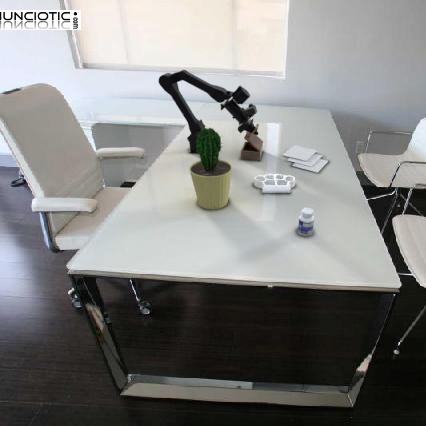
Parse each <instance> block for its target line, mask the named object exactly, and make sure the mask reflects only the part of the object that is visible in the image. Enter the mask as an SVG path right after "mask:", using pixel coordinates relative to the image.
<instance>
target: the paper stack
mask: <svg viewBox="0 0 426 426" xmlns="http://www.w3.org/2000/svg"><path fill="white" fill-rule="evenodd" d="M317 152H318V150H316V149H311V148H307V147H303V146H300V145H293V146H292V147H290V148H289V149H288V150H286V151H285V152H284V153H282V156H285V157H288V158H287V159H286V161H288V162H292V163H293V164H292V165H291V166H292V167H295V168H299V169H303V170H306V171H309V172H310V171H311V172H313V173H319V172H320V171H321V170H322V169H323V168H324V166H325V165H327V164H328V163H329V160H327V159H322V157H323V155H322V154H317Z"/></svg>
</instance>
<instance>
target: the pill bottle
mask: <svg viewBox="0 0 426 426" xmlns="http://www.w3.org/2000/svg"><path fill="white" fill-rule="evenodd" d="M314 223H315V216H314V210H313V208H311V207H303V208H302V209H301V214H299V217H298V225H297V232H298V234H300V235H301V236H303V237H308V236H311V235H312V234H313V231H314Z"/></svg>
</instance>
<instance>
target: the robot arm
mask: <svg viewBox="0 0 426 426" xmlns="http://www.w3.org/2000/svg"><path fill="white" fill-rule="evenodd" d="M182 81H184V82H185V83H187V84H190V86H193V87H195V88H197V89H199V90H201V91H202V92H203V93H206V94H207V95H208V96H209V97H210V98H211V99H212V100H214V102H217V103H218V104H220V111H223V110H226V111H227V112H228V113H229V114H230V115H231V116H232V120H236V121H237V123H238V127H237V131H238V132H239V134H242V133H243V132H244V131H245V132H250V133H252V132H253V131H254V130H255V127H256V125H255V124H254V116H255V115H256V114H257V113H258V109H257V106H256V105H255V104H253V103H249V104H248V107H246V108H245V107H241V106H240V105H243V104H245V103H246V102H247V100H248V99H249V98H251V94H250V92H249V91H248V90H247V89H246V88H245V87H243V86H241V84H240V85H238V87H237V88H236V89H235V90H234V91H231V90H227V88H225V87H222V86H221V85H220V86H219V85H217V84H216V85H215V84H211V83H210V82H207V81H206V80H205V79H203V78H201V77H198V76H197V75H195V74H193V73H191V72H189V71H188V70H187V69H181V70H179V71H176V72H174V73H170V72H166V73H164V74H161V75H160V76H159V78H158V84H159V86H160V87H161V88H162V89H163V91H164V92H166V93H167V94H168V95H169V96H170V97H171V98H172V100H173V101H174V103H175V105H176V107H177V108H178V110H179V111H180V113H181V114H182V116H183V118H184V119H185V121H186V122H187V125H188V130H189V132H190V134H189V135H188V136H187V137H186V139H187V142H188V143H189V153H190V154H196V152H197V154H199V153H198V151H197V148H196V147H197V144H196V143H197V140H198V136H199V134H198V133H200V132H201V131H202V130H203V129H202V128H204V129H205V128H206V124H205V123H204V122H203V120H202V119H198V118H197V117H196V116H195V114H194V112H193V111H192V109H191V107H190V106H189V105H188V103H187V101H186V99H185V98H184V97H183V95H182V93H181V91H180V88H179V84H178V83H179V82H182ZM252 117H253V118H252ZM251 118H252V119H251ZM204 126H205V127H204ZM196 134H197V135H196ZM253 134H255V135H257V136H258V135H259V131H258V130H257V131H255V132H254V133H253ZM195 141H196V142H195Z"/></svg>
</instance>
